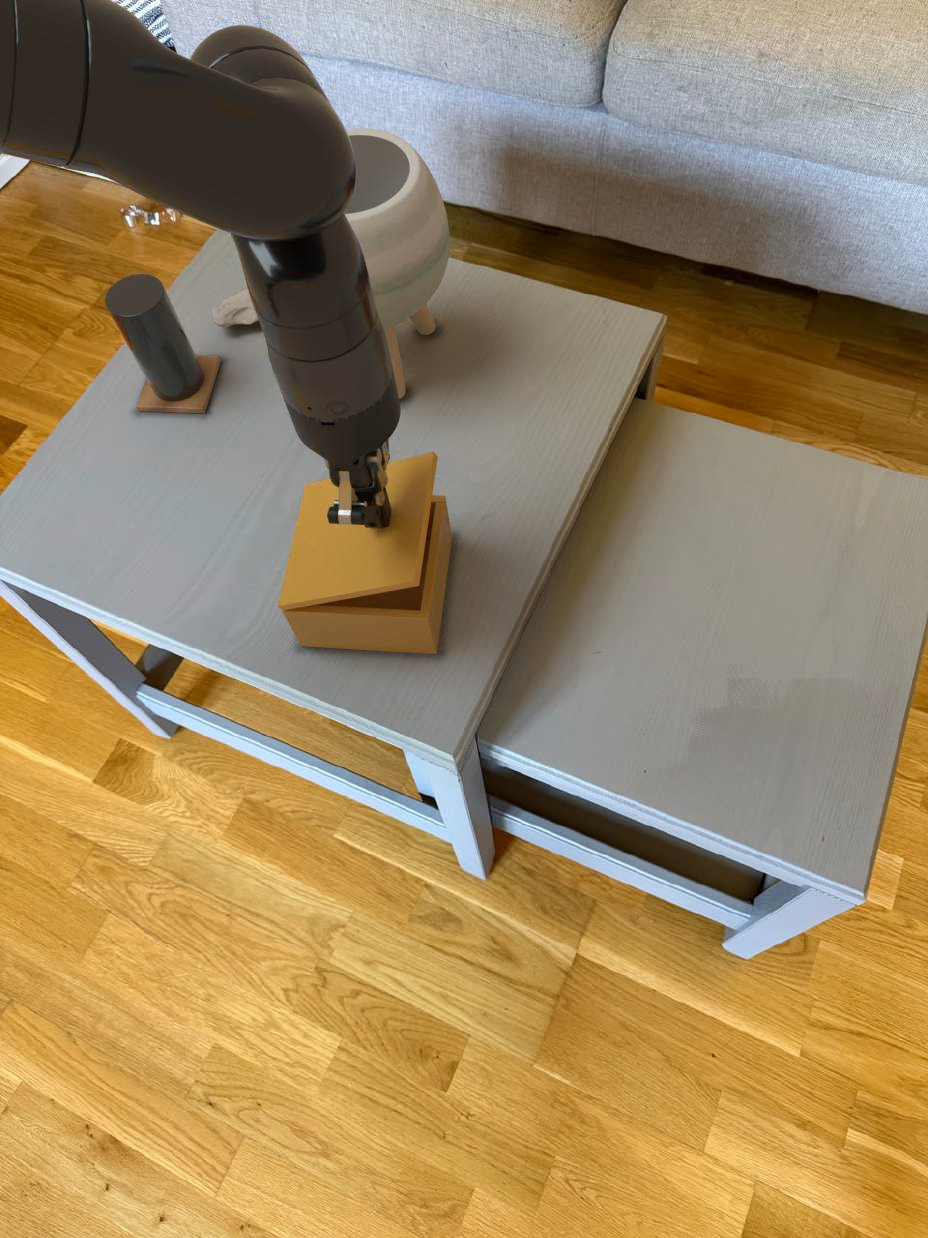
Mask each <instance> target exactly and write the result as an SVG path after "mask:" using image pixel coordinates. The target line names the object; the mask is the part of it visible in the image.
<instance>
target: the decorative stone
mask: <svg viewBox="0 0 928 1238" xmlns="http://www.w3.org/2000/svg"><path fill="white" fill-rule="evenodd" d="M211 316H212V319H213V320H212V321H213V323H214V324H216V325H217V326H218V327H222V328H229V327H231V326H234V325H252V324H255V323H256V322H259V320H258V317H257V314H256V312H255V309H254V306H253V303H252V301H251V298H250V294H249V291H248V288H245V289H243V290H242V291H239V292H238V293H236V294H234V295H232V296H230V297H227V298H225V299H224V300H222V301H221V305H219V306H217V307H214V308H213V309H212V310H211Z"/></svg>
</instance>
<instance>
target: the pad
mask: <svg viewBox="0 0 928 1238" xmlns="http://www.w3.org/2000/svg"><path fill="white" fill-rule="evenodd" d="M196 357H197V359H198V361H199V363H200V365H201V367H202V369H203V372H204V382H203V384H202V386H201V388H200V389H199V390H198V391H197V392H196V393H195V394H194V395H192V396H190V397H189V398H186V399H184V400H180V401H165V400H162V399H160V398H158V397H157V396H156V395H155V394H154V393H153V391H152V389H151V387H150V385H149V383H148V382H147V380H146V379H145V381H144V383H143V386H142V389H141V392H140V395H139V398H138V401H137V404H136V409H137V411H138V412H145V413H146V412H150V413H153V412H154V413H178V414H179V413H184V414H206V413H207V412H206V411H207V408H208V406H209V402H210V399H211V395H212V392H213V389H214V385H215V382H216V379H217V376H218V372H219V368H220V366H221V362H222V360H221V358H220V356H219V355H196Z"/></svg>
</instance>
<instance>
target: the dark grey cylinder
mask: <svg viewBox="0 0 928 1238" xmlns="http://www.w3.org/2000/svg"><path fill="white" fill-rule="evenodd" d="M104 305H105V307H106V309H107V311H108V313H109V315H110V316H111V318H112V320H113V322H114V325H116V327H117V329H118V331H119V333H120V334H121V336H122V338H123V340H124V342H125V344H126V345H127V348H128V349H129V352H130V353H131V354H132V356H133V358H134V360H135V362H136V364H137V365H138V367H139V370H140V371H141V373H142V374H143V376H144V378H145V380H147V382H148V383H149V385H150V387H151V389H152V391H153V393H154V394H155V395H156V396H157V397H158V398H160V399H162V400H165V401H180V400H184V399H186V398H189V397H190V396H192V395H194V394H195V393H196V392H197V391H198V390H199V389H200V388H201V386H202V384H203V382H204V372H203V369H202V367H201V365H200V363H199V361H198V359H197V357H196V356H197V355H196V353H195V350H194V348H193V346H192V344H191V341H190V340H189V338H188V335H187V333H186V331H185V329H184V326H183V325H182V322H181V321H180V319H179V316H178V314H177V312H176V309H175V307H174V306H173V303H172V301H171V299H170V297H169V295H168V292H167V290H166V288H165V285H164V284H163V282H162V281H161V280H160V279H159V278H158V277H156V276H155V275H152V274H147V273H135V274H131V275H127V276H125V277H122V278H121V279H119V280H117V281H116V282H114V283H113V284H112V285H111V286H110V288H109V289H108V290H107V292H106V293H105V297H104Z"/></svg>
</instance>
